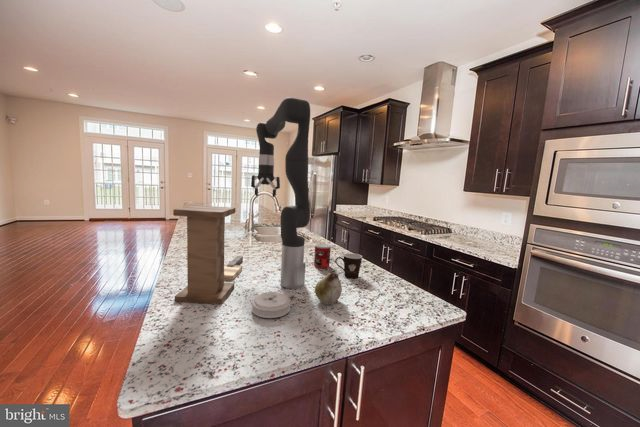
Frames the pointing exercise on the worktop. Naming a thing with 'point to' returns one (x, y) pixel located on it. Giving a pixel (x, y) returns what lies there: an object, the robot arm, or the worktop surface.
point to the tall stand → (205, 254)
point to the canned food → (322, 256)
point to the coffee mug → (351, 265)
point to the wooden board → (233, 268)
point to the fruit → (328, 289)
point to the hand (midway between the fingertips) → (265, 196)
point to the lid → (271, 305)
